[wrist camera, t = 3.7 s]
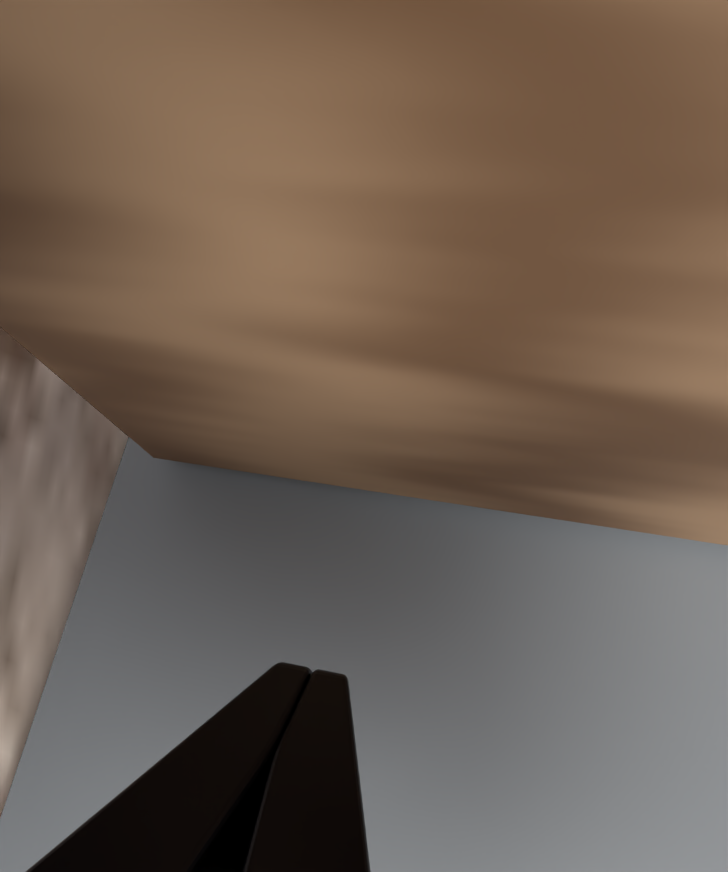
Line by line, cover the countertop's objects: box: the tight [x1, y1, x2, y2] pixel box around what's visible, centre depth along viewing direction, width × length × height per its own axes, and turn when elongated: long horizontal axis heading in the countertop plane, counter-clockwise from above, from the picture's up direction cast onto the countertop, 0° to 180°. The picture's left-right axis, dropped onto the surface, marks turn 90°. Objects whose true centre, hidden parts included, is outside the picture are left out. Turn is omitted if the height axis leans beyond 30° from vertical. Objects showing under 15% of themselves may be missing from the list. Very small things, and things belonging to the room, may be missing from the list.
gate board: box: [0, 437, 728, 872], centre depth 13 cm, size 26×18×1 cm
